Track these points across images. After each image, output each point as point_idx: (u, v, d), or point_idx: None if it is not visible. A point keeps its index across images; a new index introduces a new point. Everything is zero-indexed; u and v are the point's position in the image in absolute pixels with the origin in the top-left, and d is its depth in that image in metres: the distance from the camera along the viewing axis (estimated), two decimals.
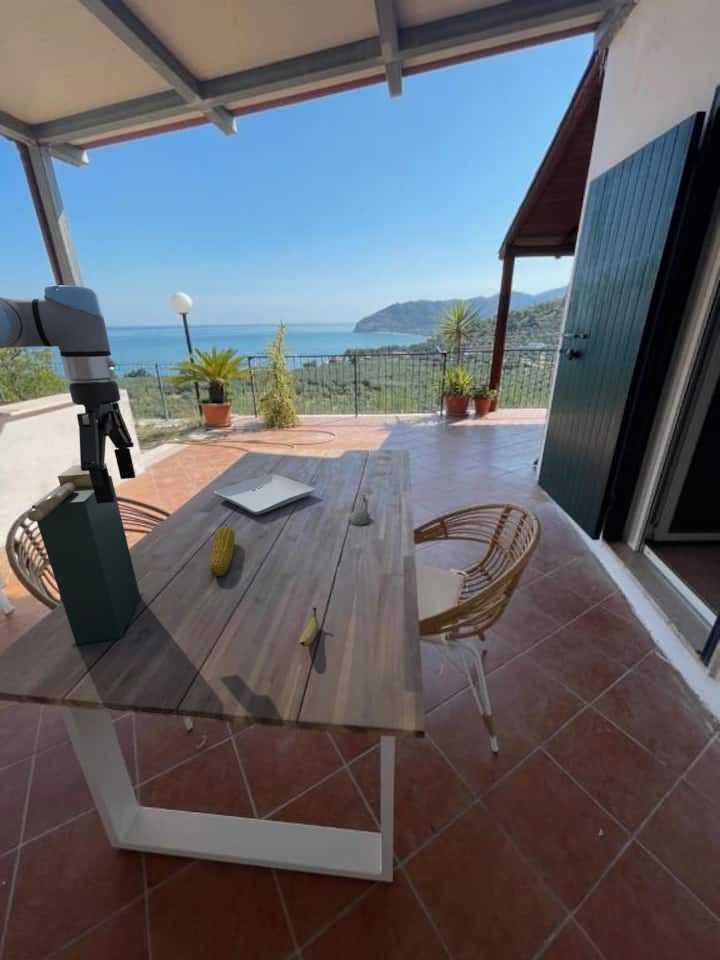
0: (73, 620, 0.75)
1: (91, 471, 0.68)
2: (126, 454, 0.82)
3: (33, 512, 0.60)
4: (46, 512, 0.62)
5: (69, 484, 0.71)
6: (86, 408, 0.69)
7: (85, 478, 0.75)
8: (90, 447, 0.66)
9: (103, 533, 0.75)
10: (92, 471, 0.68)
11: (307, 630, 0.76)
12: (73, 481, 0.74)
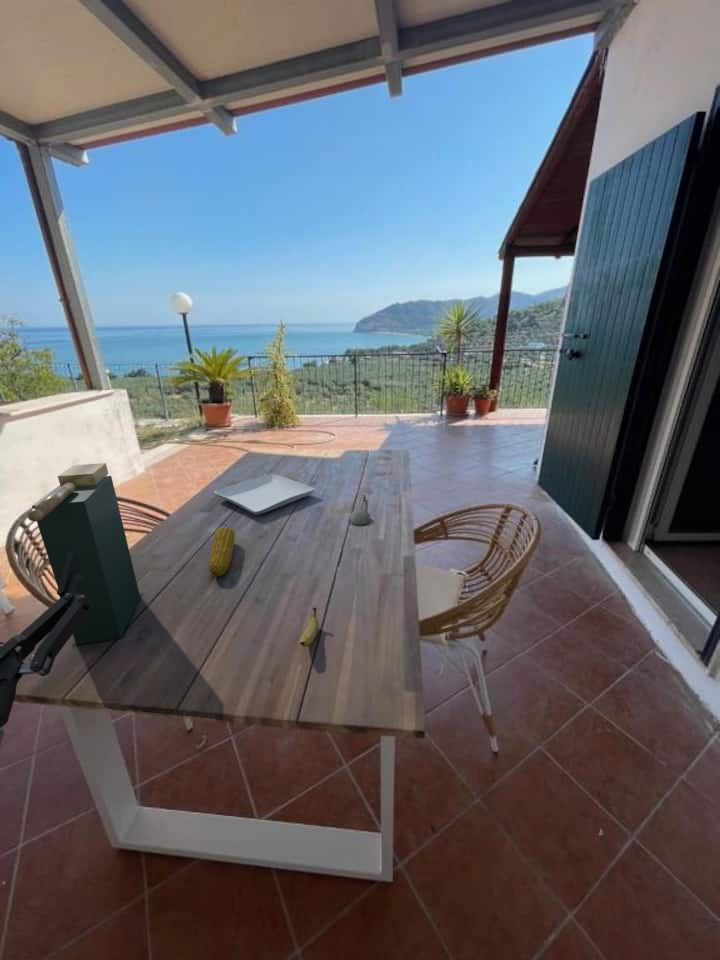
0: None
1: None
2: None
3: (33, 512, 0.60)
4: (46, 512, 0.62)
5: (69, 484, 0.71)
6: None
7: (85, 478, 0.75)
8: (70, 624, 0.51)
9: (103, 533, 0.75)
10: None
11: (307, 630, 0.76)
12: (73, 481, 0.74)
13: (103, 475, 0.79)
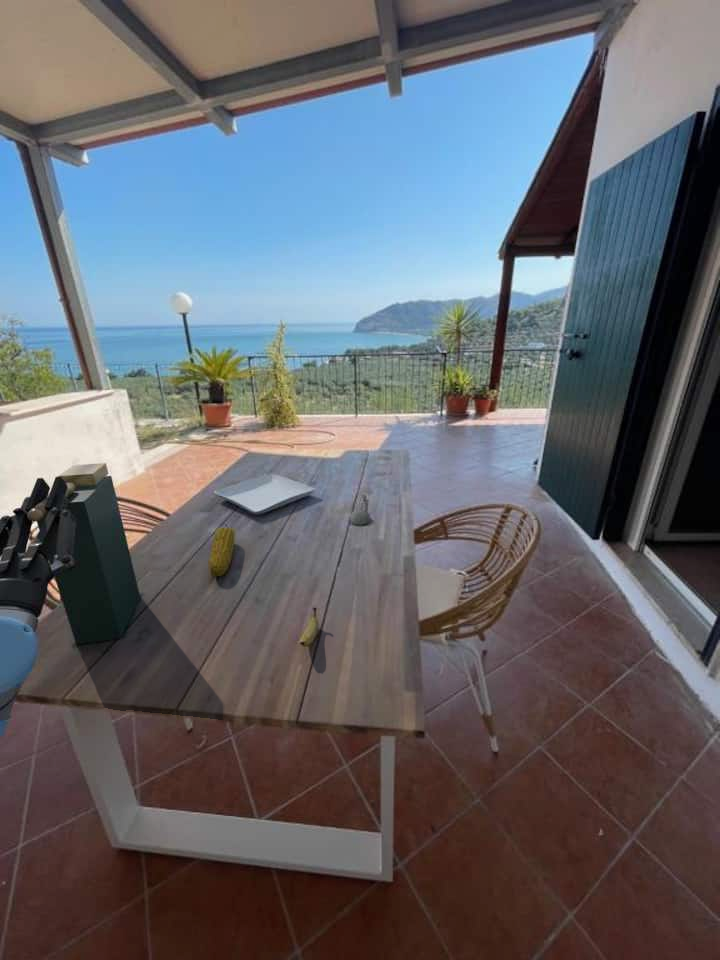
0: (73, 620, 0.75)
1: None
2: (34, 505, 0.62)
3: (33, 512, 0.60)
4: (46, 512, 0.62)
5: (69, 484, 0.71)
6: None
7: (85, 478, 0.75)
8: (70, 530, 0.60)
9: (103, 533, 0.75)
10: None
11: (307, 630, 0.76)
12: (73, 481, 0.74)
13: (103, 475, 0.79)
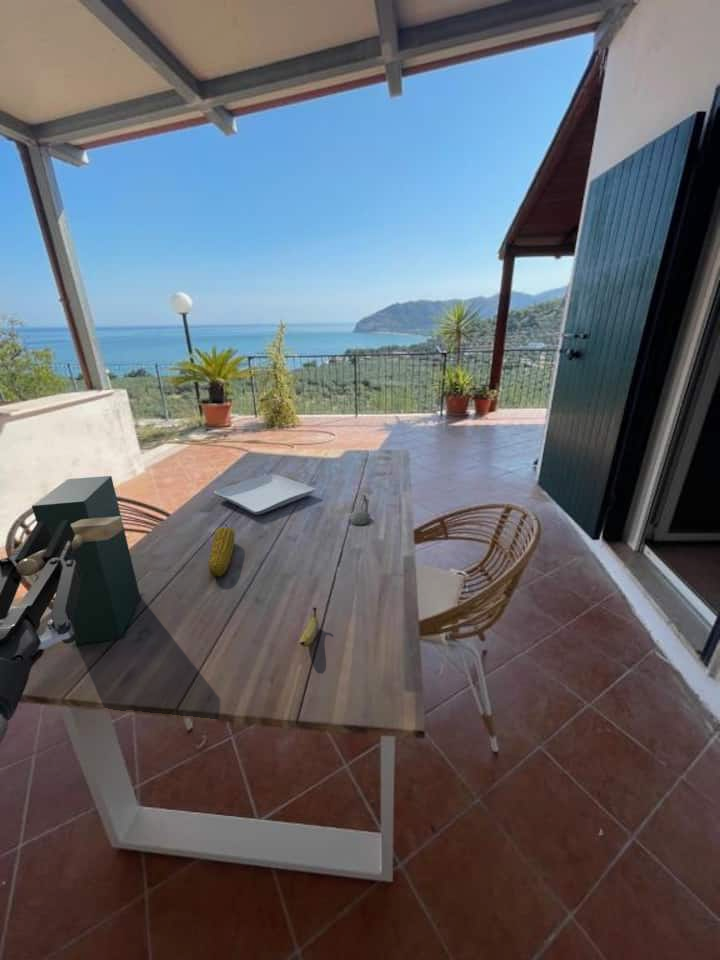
0: (73, 620, 0.75)
1: None
2: (28, 555, 0.46)
3: (26, 562, 0.43)
4: (43, 564, 0.45)
5: (76, 535, 0.55)
6: (31, 665, 0.37)
7: (96, 531, 0.59)
8: (73, 587, 0.43)
9: None
10: None
11: (307, 630, 0.76)
12: (80, 534, 0.59)
13: (117, 530, 0.64)
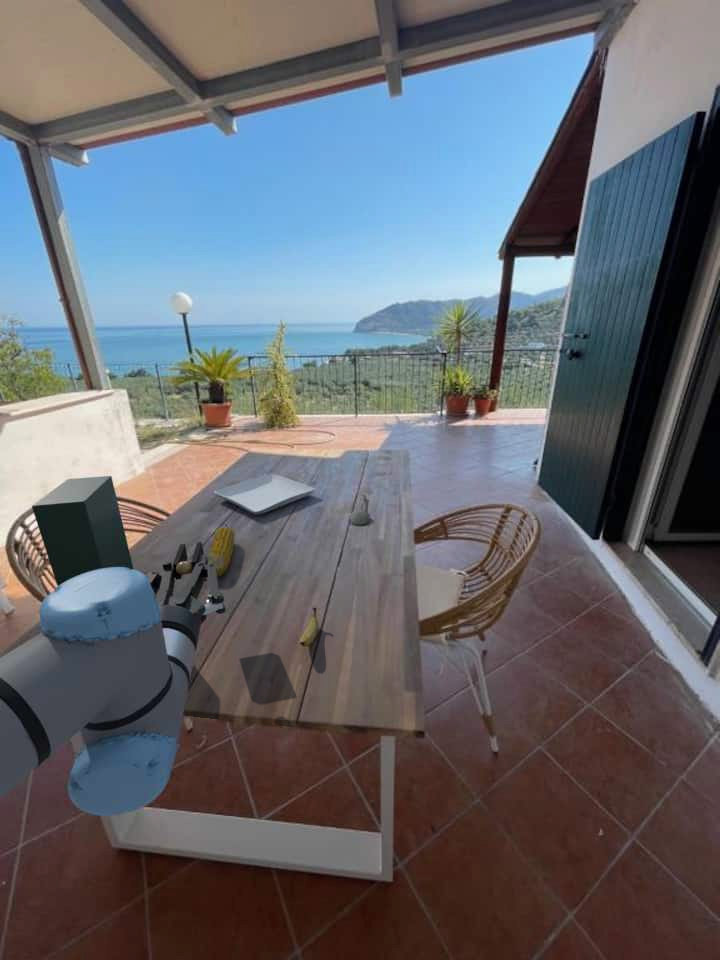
0: None
1: None
2: None
3: (183, 563, 0.58)
4: (191, 568, 0.60)
5: None
6: None
7: (210, 561, 0.74)
8: (217, 579, 0.57)
9: (103, 533, 0.75)
10: None
11: (307, 630, 0.76)
12: None
13: (222, 564, 0.78)
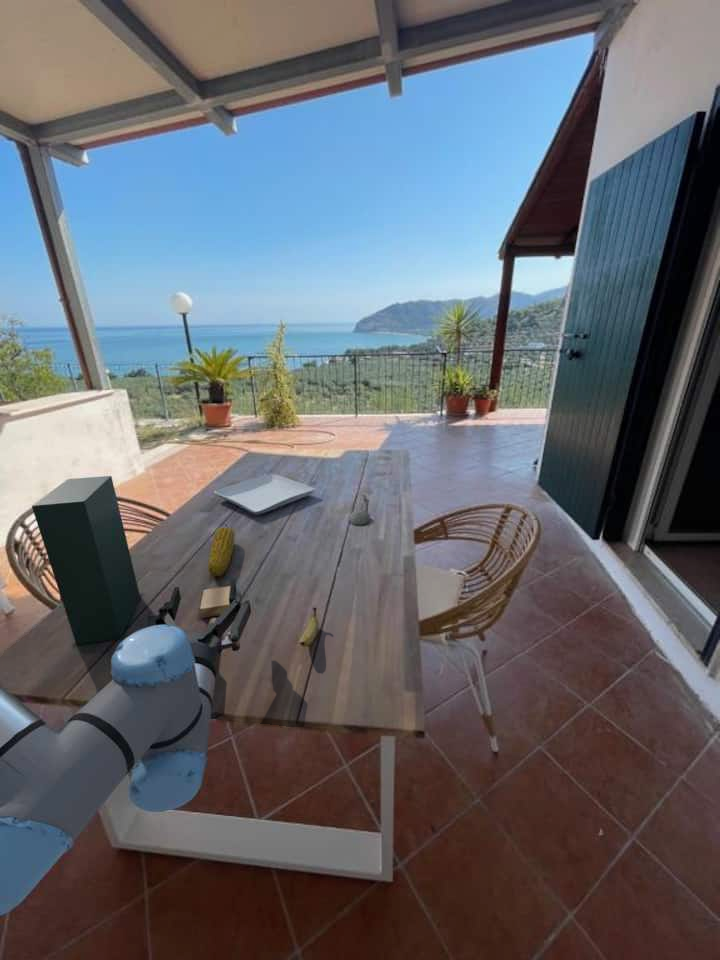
0: (73, 620, 0.75)
1: None
2: (173, 606, 0.70)
3: None
4: None
5: (215, 620, 0.80)
6: None
7: (222, 609, 0.84)
8: (245, 617, 0.68)
9: (103, 533, 0.75)
10: None
11: (307, 630, 0.76)
12: (212, 611, 0.84)
13: None
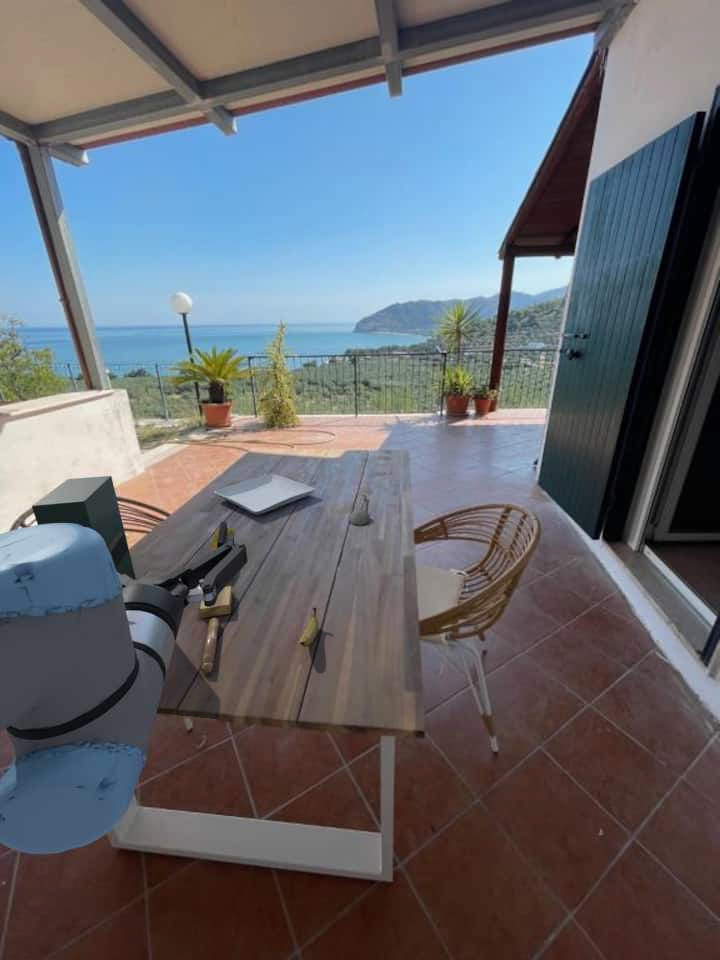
0: None
1: None
2: (112, 555, 0.49)
3: (207, 666, 0.69)
4: (213, 662, 0.71)
5: (215, 620, 0.80)
6: (183, 608, 0.42)
7: (222, 609, 0.84)
8: (233, 564, 0.48)
9: (103, 533, 0.75)
10: None
11: (307, 630, 0.76)
12: (212, 611, 0.84)
13: (231, 599, 0.89)
